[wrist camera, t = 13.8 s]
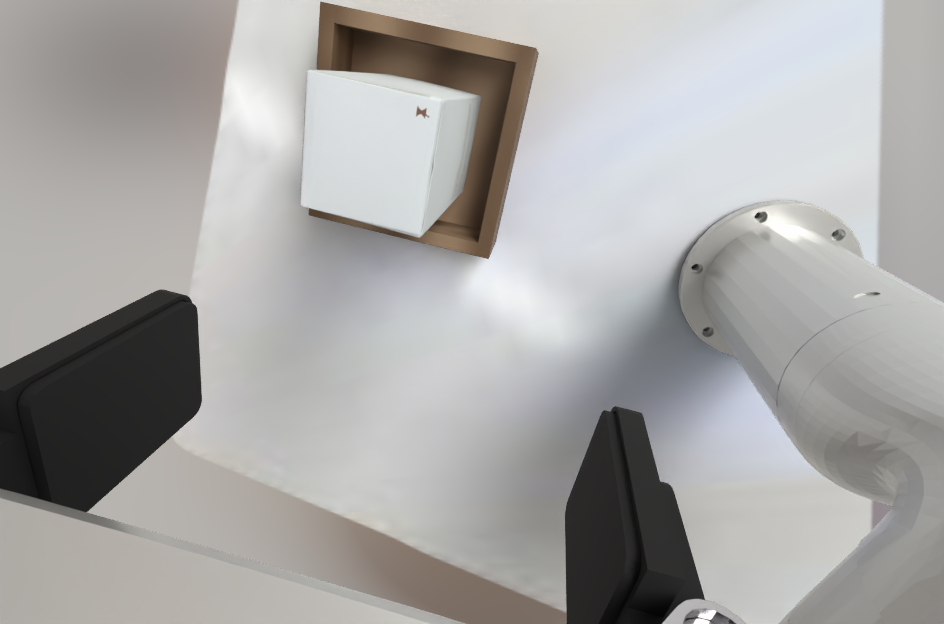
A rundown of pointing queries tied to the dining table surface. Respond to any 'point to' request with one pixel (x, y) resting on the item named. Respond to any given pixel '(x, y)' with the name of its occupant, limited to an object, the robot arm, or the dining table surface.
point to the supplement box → (385, 148)
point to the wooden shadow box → (455, 66)
